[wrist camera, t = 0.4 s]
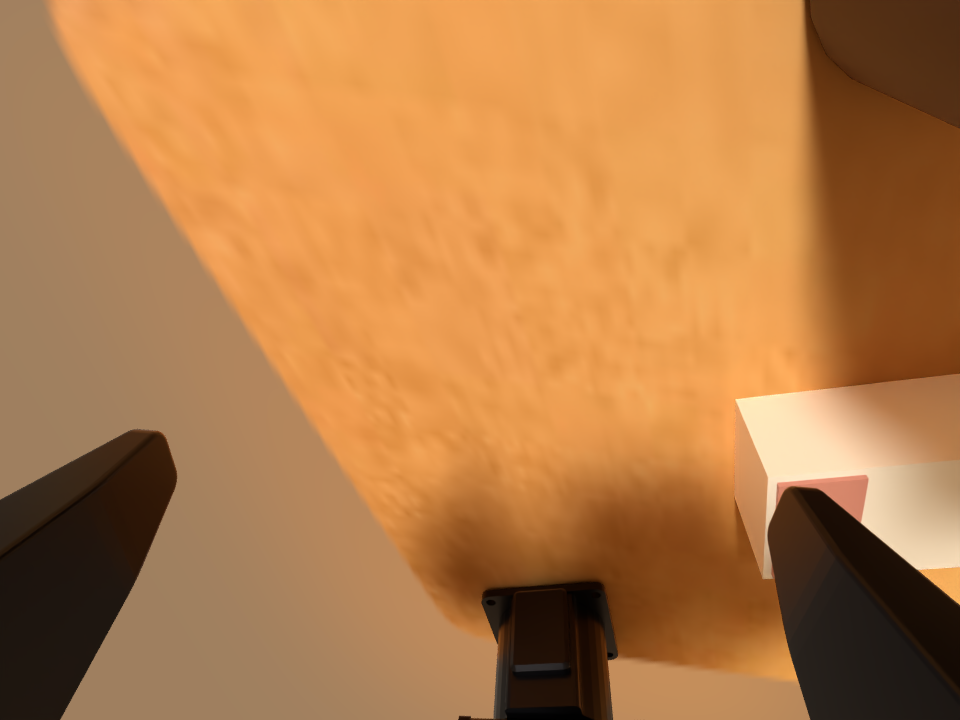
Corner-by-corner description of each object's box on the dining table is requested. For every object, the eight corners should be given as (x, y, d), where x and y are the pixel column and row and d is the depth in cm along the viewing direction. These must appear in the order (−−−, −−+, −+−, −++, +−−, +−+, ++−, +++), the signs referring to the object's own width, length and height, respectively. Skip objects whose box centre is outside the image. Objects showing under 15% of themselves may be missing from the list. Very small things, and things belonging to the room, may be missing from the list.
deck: (946, 474, 26) (1016, 568, 22) (733, 493, 28) (764, 583, 24) (975, 368, 23) (1062, 455, 19) (734, 396, 25) (769, 481, 21)
